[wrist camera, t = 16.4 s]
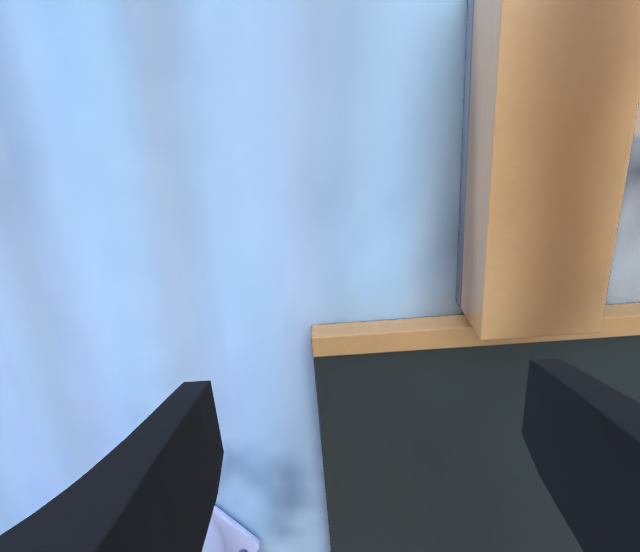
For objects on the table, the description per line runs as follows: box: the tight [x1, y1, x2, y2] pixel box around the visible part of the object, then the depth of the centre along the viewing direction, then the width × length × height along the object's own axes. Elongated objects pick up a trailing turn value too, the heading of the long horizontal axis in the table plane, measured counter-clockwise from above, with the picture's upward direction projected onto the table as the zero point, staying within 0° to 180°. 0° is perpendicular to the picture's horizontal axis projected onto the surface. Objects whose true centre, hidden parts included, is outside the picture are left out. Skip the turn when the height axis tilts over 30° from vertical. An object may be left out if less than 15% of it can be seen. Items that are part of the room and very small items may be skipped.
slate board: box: [311, 303, 640, 552], centre depth 26 cm, size 20×25×1 cm
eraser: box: [456, 0, 640, 340], centre depth 17 cm, size 4×12×4 cm, turn 4°
